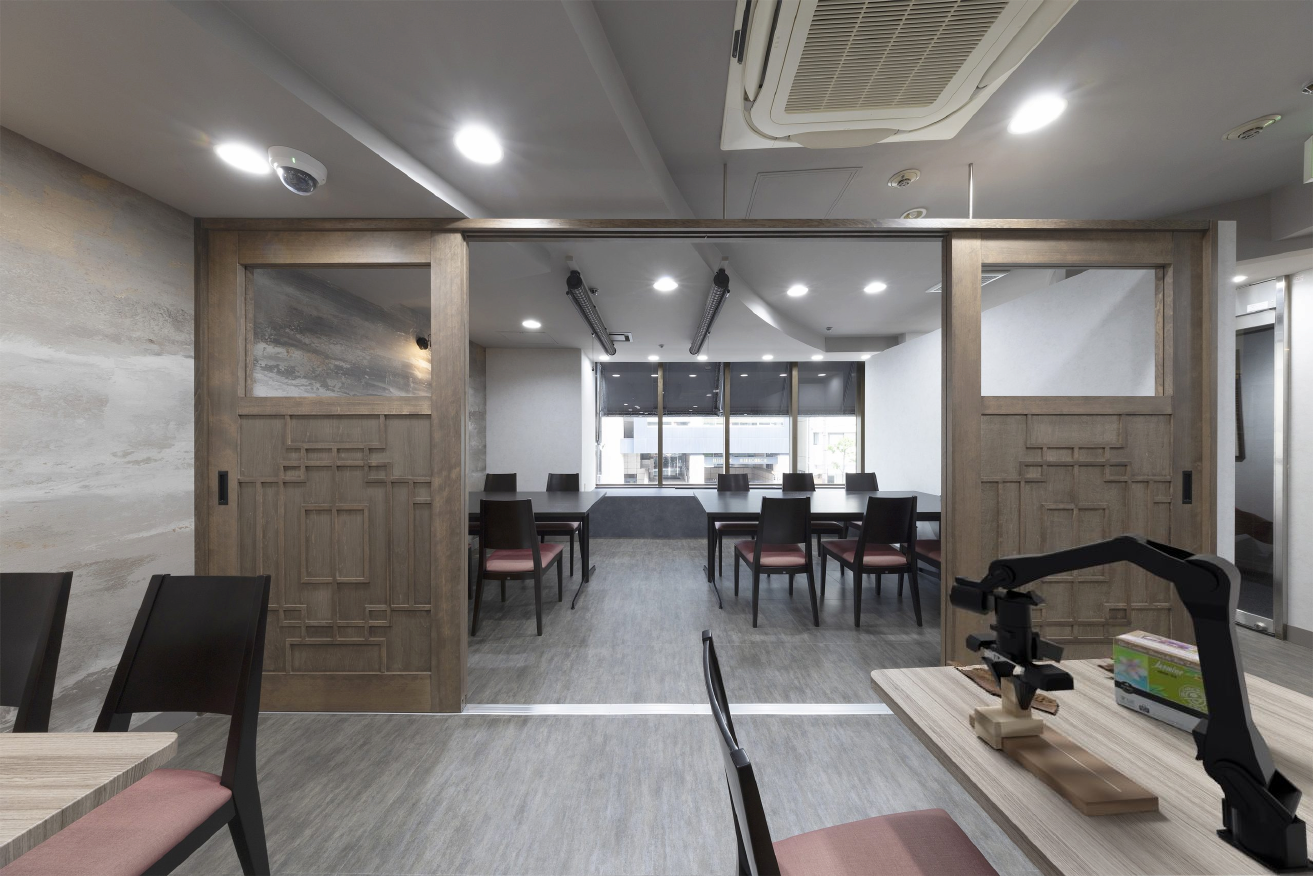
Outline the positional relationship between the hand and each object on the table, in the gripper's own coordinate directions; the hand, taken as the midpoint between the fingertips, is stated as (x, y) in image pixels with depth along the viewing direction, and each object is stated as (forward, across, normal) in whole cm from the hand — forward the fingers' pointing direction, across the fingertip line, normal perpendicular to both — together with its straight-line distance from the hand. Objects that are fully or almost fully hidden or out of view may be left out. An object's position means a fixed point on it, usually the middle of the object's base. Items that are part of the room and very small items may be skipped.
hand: (1016, 704), depth 89 cm
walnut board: (+7, -6, -1) cm, 9 cm away
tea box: (+7, +4, -38) cm, 39 cm away
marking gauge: (+6, 0, +2) cm, 7 cm away
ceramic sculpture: (+7, +18, -49) cm, 53 cm away
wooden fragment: (+7, +20, -13) cm, 25 cm away
